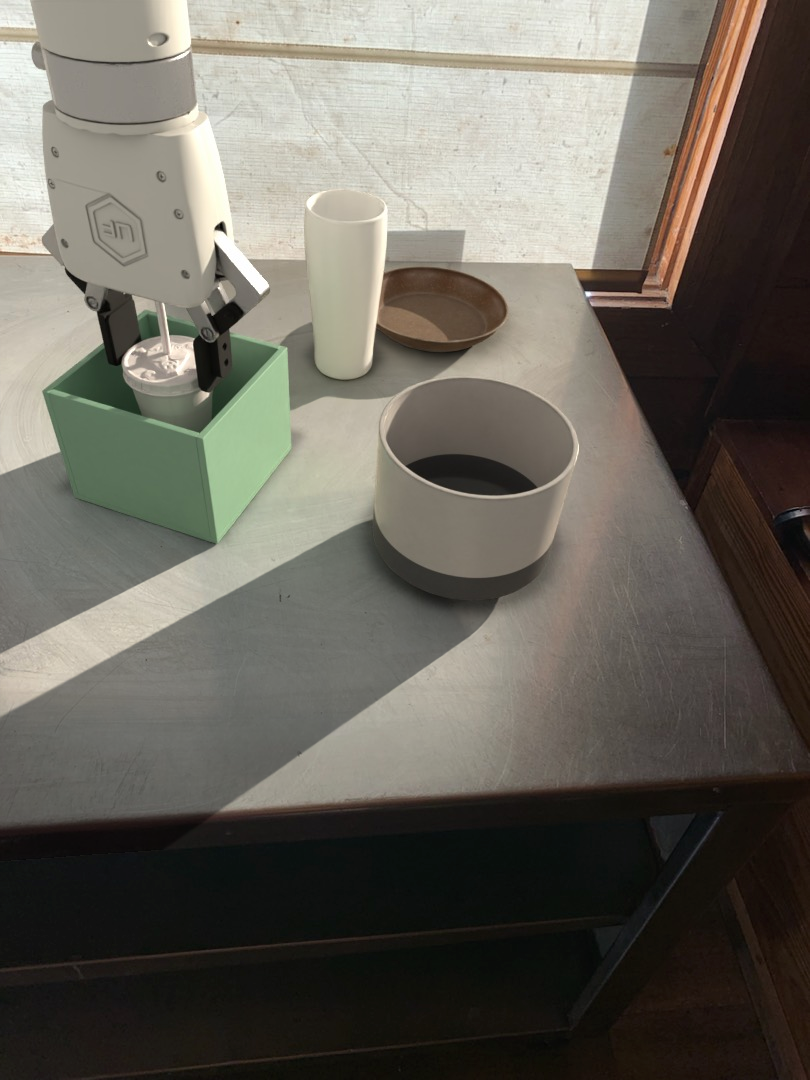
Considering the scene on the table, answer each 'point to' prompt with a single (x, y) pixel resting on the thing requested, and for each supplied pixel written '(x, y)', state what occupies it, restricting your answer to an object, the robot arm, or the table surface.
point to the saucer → (438, 308)
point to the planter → (470, 485)
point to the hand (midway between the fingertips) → (169, 366)
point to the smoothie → (167, 379)
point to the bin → (174, 438)
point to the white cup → (344, 277)
